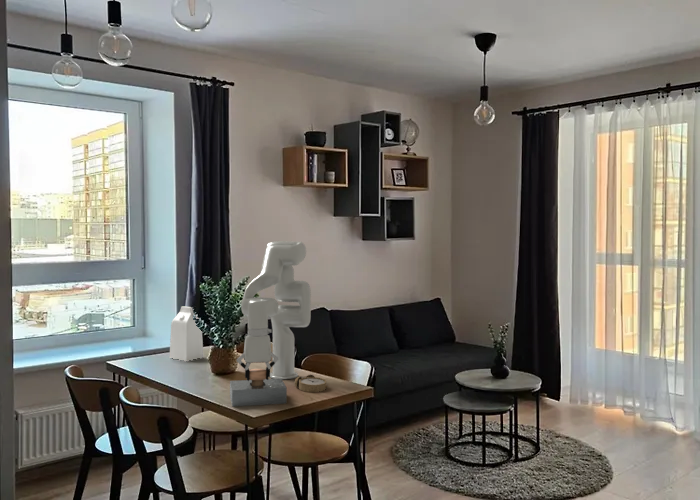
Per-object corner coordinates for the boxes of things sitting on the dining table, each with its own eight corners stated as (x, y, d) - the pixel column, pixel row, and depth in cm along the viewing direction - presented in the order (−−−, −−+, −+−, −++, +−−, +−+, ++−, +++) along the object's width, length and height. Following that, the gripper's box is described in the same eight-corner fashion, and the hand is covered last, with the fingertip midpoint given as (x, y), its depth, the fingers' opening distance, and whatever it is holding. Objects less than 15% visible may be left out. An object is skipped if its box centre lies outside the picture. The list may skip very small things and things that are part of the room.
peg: (248, 391, 248) (248, 369, 248) (265, 390, 250) (265, 368, 250) (249, 395, 242) (249, 372, 242) (267, 394, 243) (267, 372, 243)
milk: (203, 357, 327) (203, 306, 326) (186, 361, 317) (186, 308, 316) (186, 355, 333) (186, 305, 332) (169, 358, 323) (169, 307, 323)
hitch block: (229, 396, 251) (229, 380, 251) (281, 393, 256) (281, 378, 256) (232, 406, 236) (232, 390, 236) (286, 403, 241) (286, 387, 241)
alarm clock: (310, 387, 256) (288, 373, 267) (309, 398, 257) (287, 385, 267) (332, 382, 263) (310, 370, 274) (331, 394, 264) (308, 381, 275)
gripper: (279, 330, 251) (279, 376, 251) (234, 331, 247) (233, 378, 247) (281, 333, 244) (281, 380, 244) (235, 334, 240) (235, 382, 240)
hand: (257, 379), depth 246 cm, fingers closed on peg, 6 cm apart
